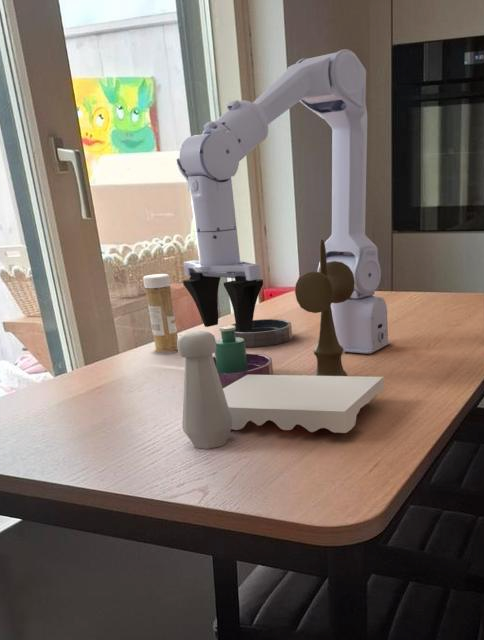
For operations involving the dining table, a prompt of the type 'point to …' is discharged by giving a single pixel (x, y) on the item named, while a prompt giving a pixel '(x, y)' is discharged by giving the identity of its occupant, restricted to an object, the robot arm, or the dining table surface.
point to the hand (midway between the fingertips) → (227, 328)
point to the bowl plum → (255, 365)
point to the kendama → (326, 308)
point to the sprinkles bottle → (161, 312)
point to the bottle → (230, 351)
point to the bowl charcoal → (266, 333)
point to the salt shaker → (203, 392)
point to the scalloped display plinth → (300, 400)
